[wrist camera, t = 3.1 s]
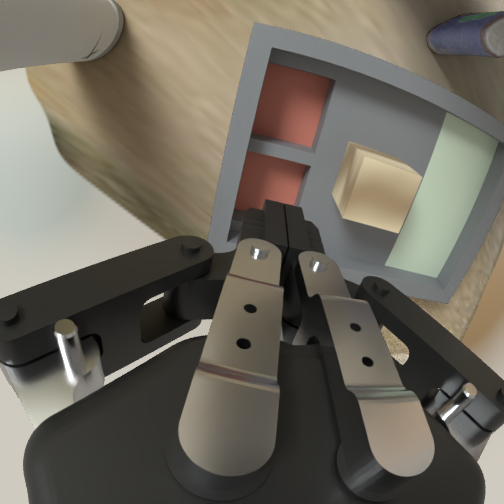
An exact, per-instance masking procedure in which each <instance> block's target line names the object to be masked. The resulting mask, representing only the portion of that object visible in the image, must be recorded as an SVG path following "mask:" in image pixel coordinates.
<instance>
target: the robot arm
mask: <svg viewBox="0 0 504 504" xmlns="http://www.w3.org/2000/svg"><path fill="white" fill-rule="evenodd" d="M161 293H164V296H163V297H161V298H159V299H157V300H155V301H152V302H150V303H148V304H146V305H144V303H145V302H146V301H147V300H149V299H150V298H152V297H154V296H157V295H159V294H161ZM202 319H213V320H212V323H211V326H210V329H209V333H208V335H205V336H198V337H193V338H189V339H186V340H183V341H181V342H179V343H176V344H175V345H173V346H171V347H169V348H168V349H166V350H164V351H163V352H161V353H160V354H158V355H156V356H154V357H153V358H151V359H149V360H148V361H146V362H145V363H143V364H141V365H139V366H138V367H136V368H134V369H133V370H131V371H129V372H127V373H126V374H124V375H122V376H121V377H119V378H117V379H115V380H114V381H112V382H110V383H109V384H107V385H105V386H104V381H105V379H104V378H105V377H106V376H108V375H110V374H111V373H114V372H115V371H117V370H119V369H121V368H123V367H125V366H127V365H129V364H131V363H132V362H134V361H136V360H138V359H140V358H142V357H144V356H146V355H147V354H149V353H151V352H153V351H155V350H157V349H158V348H160V347H162V346H164V345H166V344H168V343H170V342H171V341H173V340H175V339H177V338H179V337H180V336H182V335H184V334H186V333H188V332H189V331H191V330H193V329H195V328H196V327H197V326H199V324H200V323H201V320H202ZM383 325H384V326H385V327H386V328H387V329H389V330H390V331H391V332H392V333H393V334H394V335H395V336H396V337H398V338H399V339H400V340H401V341H402V342H403V343H404V344H405V345H406V346H407V347H408V349H409V358H408V360H407V361H406V362H405V364H404V365H402V364H400V363H399V362H398V361H396V360H395V359H394V358H393V357H392V356H391V354H390V352H389V349H388V347H387V344H386V342H385V340H384V337H383V335H382V332H381V329H382V327H383ZM0 368H1V370H2V372H3V374H4V375H5V377H6V379H7V381H8V382H9V384H10V385H11V386H12V387H13V389H14V391H15V392H16V394H17V396H18V398H19V399H20V401H21V403H22V405H23V407H24V409H25V411H26V413H27V415H28V417H29V419H30V421H31V423H32V425H33V427H34V428H35V431H34V432H33V433H32V435H31V437H30V439H29V440H28V443H27V445H26V449H25V453H24V459H23V471H24V477H25V482H26V487H27V491H28V499H29V504H484V499H485V480H484V476H483V473H482V470H481V468H480V466H479V464H478V463H477V461H478V459H479V458H480V456H481V454H482V452H483V450H484V448H485V446H486V444H487V441H488V440H489V438H490V435H491V434H492V433H493V432H495V431H496V430H497V429H498V428H499V427H500V426H502V425H503V424H504V380H503V379H502V378H501V377H499V376H498V375H497V374H496V373H495V372H494V371H493V370H492V369H491V368H490V367H488V366H487V365H486V364H485V363H484V362H483V361H482V360H481V359H480V358H479V357H477V356H476V355H475V354H474V353H473V352H472V351H471V350H470V349H468V348H467V347H466V346H465V345H464V344H463V343H462V342H460V341H459V340H458V339H457V338H456V337H455V336H453V335H452V334H451V333H450V332H449V331H448V330H446V329H445V328H444V327H443V326H442V325H441V324H439V323H438V322H437V321H436V320H435V319H433V318H432V317H431V316H430V315H429V314H427V313H426V312H425V311H424V310H423V309H421V308H420V307H419V306H418V305H417V304H415V303H414V302H413V301H412V300H410V299H409V298H408V297H407V296H406V295H404V294H403V293H402V292H401V291H399V290H398V289H397V288H396V287H394V286H393V285H392V284H391V283H389V282H388V281H386V280H384V279H382V278H379V277H376V276H366V277H364V278H363V280H362V282H361V284H360V285H358V284H356V283H353V282H351V281H348V280H346V279H344V278H343V276H342V274H341V271H340V269H339V266H338V265H337V263H336V262H335V261H334V260H333V259H331V258H330V257H328V256H326V254H325V251H324V247H323V243H322V240H321V237H320V233H319V229H318V228H317V227H316V226H315V225H314V224H313V223H312V222H311V221H307V220H305V219H304V214H303V210H302V207H298V206H294V205H290V204H286V203H284V204H283V203H281V202H277V201H273V200H268V199H265V201H264V204H263V208H262V210H260V209H255V208H251V207H250V208H249V209H247V210H246V211H245V212H244V215H243V219H242V224H241V228H240V232H239V236H238V240H237V245H236V249H235V250H233V251H230V252H225V253H214V249H213V247H212V245H211V244H210V243H209V242H207V241H206V240H204V239H202V238H199V237H195V236H178V237H174V238H171V239H168V240H165V241H162V242H159V243H156V244H153V245H150V246H147V247H144V248H141V249H138V250H135V251H132V252H129V253H126V254H123V255H120V256H117V257H114V258H111V259H108V260H106V261H103V262H100V263H97V264H94V265H91V266H88V267H85V268H83V269H80V270H77V271H74V272H71V273H68V274H66V275H63V276H60V277H57V278H55V279H52V280H49V281H47V282H44V283H41V284H38V285H36V286H33V287H31V288H28V289H25V290H22V291H20V292H17V293H14V294H12V295H9V296H6V297H4V298H1V299H0ZM438 388H440V389H439V390H438Z"/></svg>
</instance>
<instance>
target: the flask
mask: <svg viewBox="0 0 504 504" xmlns="http://www.w3.org/2000/svg"><path fill="white" fill-rule="evenodd" d="M426 37H427V40H426V41H427V44H429V45H428V46H429V48H430V49H431V51H432V52H434V53H436V54H439V55H451V54H454V55H456V54H459V55H476V56H488V57H495V58H500V57H504V11H501V12H490V13H489V12H487V13H470V14H463V15H461V16H460V15H459V16H457V17H455V18H453V19H450V20H448V21H445V22H444V23H442V24H439V25H438V26H436V27H434V28H433V29H432V30H431V31H430V32H429V33H428V35H427V36H426Z"/></svg>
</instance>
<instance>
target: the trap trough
mask: <svg viewBox="0 0 504 504" xmlns="http://www.w3.org/2000/svg"><path fill="white" fill-rule="evenodd" d="M349 141H350V142H353V143H356V144H359V145H362V146H365V147H368V148H371V149H374V150H377V151H380V152H383V153H386V154H389V155H391V156H394V157H397V158H399V159H401V160H402V161H403V162H405V163H406V164H407V165H408V166H410V167H411V168H412V169H413V170H415V171H416V172H417V173H418V174H419V175H421V176H422V179H421V182H420V185H419V187H418V189H417V192H416V194H415V197H414V199H413V202H412V204H411V206H410V209H409V211H408V213H407V216H406V218H405V220H404V222H403V225H402V227H401V229H400V231H399V234H398V233H395V232H391V231H388V230H384V229H381V228H377V227H374V226H370V225H366V224H363V223H359V222H355V221H352V220H348V219H344V218H342V216H341V213H340V211H339V209H338V207H337V204H336V202H335V200H334V198H333V196H332V191H333V188H334V185H335V182H336V179H337V176H338V173H339V170H340V167H341V164H342V161H343V158H344V155H345V152H346V149H347V146H348V143H349ZM265 199H268V200H273V201H277V202H281V203H283V204H284V203H286V204H290V205H294V206H298V207H302V210H303V214H304V219H305V220H307V221H311V222H312V223H313V224H314V225H315V226H316V227H317V228H318V229H319V233H320V237H321V240H322V243H323V247H324V251H325V254H326V256H328V257H330V258H331V259H333V260H334V261H335V262H336V263H337V265H338V266H339V269H340V271H341V274H342V276H343V278H344V279H346V280H348V281H351V282H353V283H356V284H358V285H360V284H361V282H362V280H363V278H364V277H366V276H376V277H379V278H382V279H384V280H386V281H388V282H389V283H391V284H392V285H393V286H394V287H396V288H397V289H398V290H399V291H401V292H402V293H403V294H404V295H406V296H410V297H415V298H420V299H425V300H430V301H435V302H440V303H445V304H448V302H449V301H450V299H451V297H452V296H453V294H454V293H455V291H456V289H457V288H458V286H459V284H460V283H461V281H462V279H463V278H464V276H465V274H466V273H467V271H468V269H469V267H470V266H471V264H472V262H473V260H474V258H475V257H476V255H477V253H478V251H479V249H480V247H481V245H482V243H483V242H484V240H485V238H486V236H487V234H488V232H489V230H490V228H491V226H492V224H493V221H494V219H495V217H496V215H497V213H498V211H499V209H500V206H501V204H502V202H503V200H504V123H502V122H501V121H499V120H498V119H496V118H495V117H493V116H491V115H490V114H488V113H487V112H485V111H483V110H482V109H480V108H479V107H477V106H475V105H474V104H472V103H470V102H468V101H467V100H465V99H463V98H461V97H460V96H458V95H456V94H454V93H452V92H450V91H449V90H447V89H445V88H443V87H441V86H439V85H437V84H435V83H433V82H431V81H429V80H427V79H425V78H423V77H421V76H419V75H417V74H414V73H412V72H410V71H408V70H406V69H403V68H401V67H399V66H396V65H394V64H392V63H389V62H387V61H384V60H382V59H379V58H377V57H374V56H372V55H369V54H366V53H363V52H361V51H358V50H355V49H352V48H349V47H346V46H343V45H340V44H337V43H334V42H331V41H328V40H324V39H321V38H318V37H314V36H311V35H307V34H303V33H299V32H296V31H292V30H288V29H283V28H279V27H275V26H270V25H265V24H260V23H255V22H254V25H253V29H252V33H251V37H250V41H249V45H248V49H247V53H246V57H245V61H244V65H243V70H242V74H241V78H240V82H239V87H238V91H237V95H236V100H235V104H234V109H233V113H232V118H231V123H230V127H229V132H228V137H227V141H226V146H225V151H224V156H223V161H222V166H221V171H220V176H219V181H218V186H217V191H216V197H215V202H214V207H213V213H212V218H211V224H210V229H209V235H208V241H207V242H209V243H210V244H211V245H212V247H213V249H214V253H225V252H230V251H233V250H235V249H236V245H237V240H238V236H239V232H240V228H241V224H242V219H243V215H244V212H245V211H246V210H247V209H249V208H250V207H251V208H255V209H260V210H262V208H263V204H264V201H265Z"/></svg>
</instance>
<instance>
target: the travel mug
mask: <svg viewBox="0 0 504 504" xmlns="http://www.w3.org/2000/svg"><path fill="white" fill-rule="evenodd" d="M123 22H124V19H123V13H122V10H121V8H120V6H119V5H118V4H117V3H116V2H115V1H114V0H0V71H5V70H11V69H16V68H24V67H31V66H38V65H47V64H56V63H68V62H82V61H92V60H96V59H99V58H100V57H102V56H104V55H105V54H107V53H108V52H109V51H110V50H111V49H112V48H113V47H114V46H115V44H116V43H117V41H118V40H119V37H120V35H121V33H122V29H123Z"/></svg>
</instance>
